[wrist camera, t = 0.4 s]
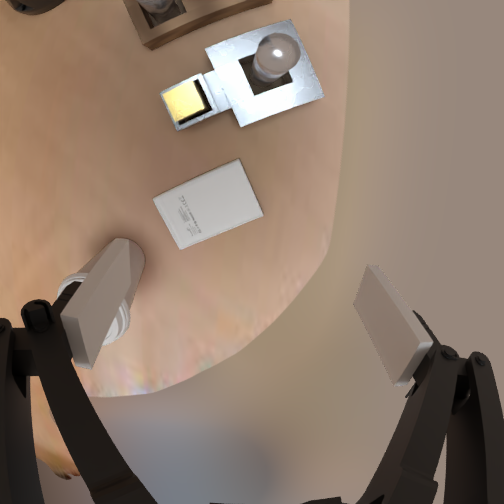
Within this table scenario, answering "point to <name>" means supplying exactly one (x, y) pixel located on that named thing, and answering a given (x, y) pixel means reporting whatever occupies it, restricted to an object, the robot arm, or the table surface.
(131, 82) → the table surface
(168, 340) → the table surface
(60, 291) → the coffee cup
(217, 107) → the block
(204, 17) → the rack
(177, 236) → the external hard drive
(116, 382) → the table surface
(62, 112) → the table surface
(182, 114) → the yellow piece
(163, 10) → the test tube
